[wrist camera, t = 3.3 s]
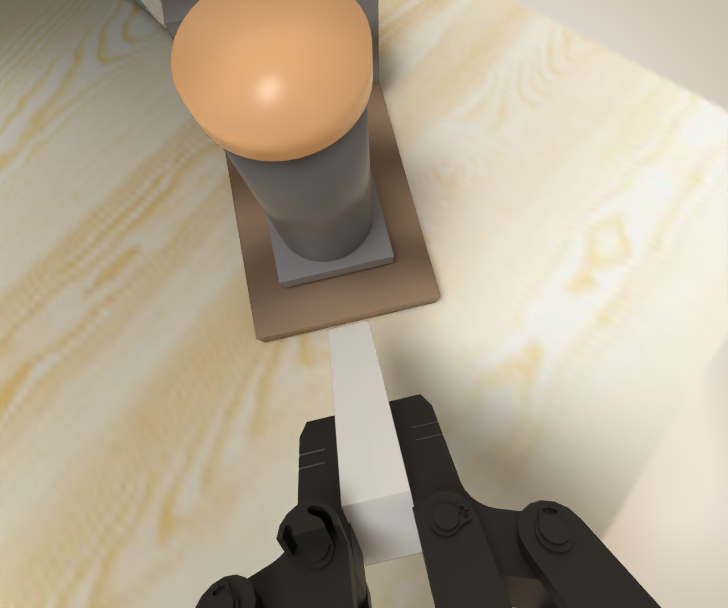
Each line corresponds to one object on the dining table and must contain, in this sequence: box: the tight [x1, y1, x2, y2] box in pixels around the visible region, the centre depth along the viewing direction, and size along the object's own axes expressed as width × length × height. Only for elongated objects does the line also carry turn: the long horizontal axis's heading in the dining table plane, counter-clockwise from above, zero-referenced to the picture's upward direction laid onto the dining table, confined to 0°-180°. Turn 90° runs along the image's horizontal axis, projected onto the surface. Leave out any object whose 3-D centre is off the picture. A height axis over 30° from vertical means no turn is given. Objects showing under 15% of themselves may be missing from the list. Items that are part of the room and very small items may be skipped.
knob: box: [170, 0, 394, 288], centre depth 15 cm, size 6×6×11 cm
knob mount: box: [161, 0, 440, 342], centre depth 20 cm, size 18×10×8 cm, turn 13°
